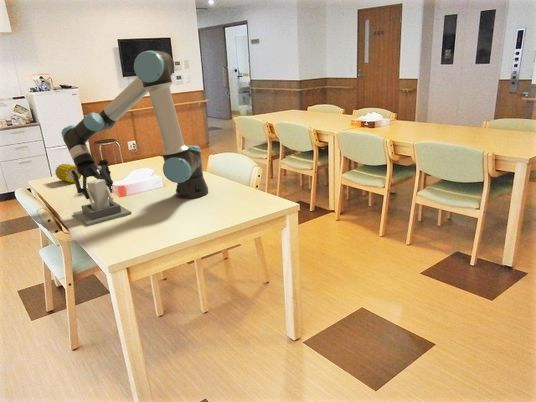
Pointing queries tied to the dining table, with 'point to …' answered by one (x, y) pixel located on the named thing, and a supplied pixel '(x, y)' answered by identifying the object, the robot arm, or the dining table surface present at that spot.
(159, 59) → the robot arm
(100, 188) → the skincare box
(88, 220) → the dock
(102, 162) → the black knobby slab
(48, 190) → the dining table surface
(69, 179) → the food
